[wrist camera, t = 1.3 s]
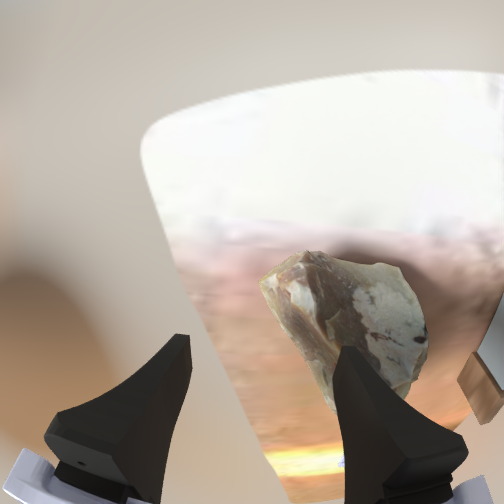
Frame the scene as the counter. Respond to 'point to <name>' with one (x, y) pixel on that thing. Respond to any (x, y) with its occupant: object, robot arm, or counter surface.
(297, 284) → the stone
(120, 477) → the robot arm
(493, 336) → the door
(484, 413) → the door frame
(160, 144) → the counter surface
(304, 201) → the counter surface
